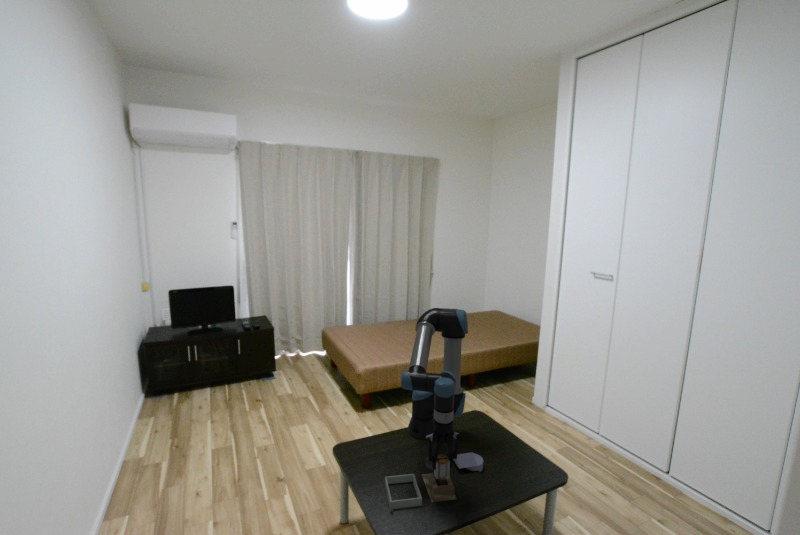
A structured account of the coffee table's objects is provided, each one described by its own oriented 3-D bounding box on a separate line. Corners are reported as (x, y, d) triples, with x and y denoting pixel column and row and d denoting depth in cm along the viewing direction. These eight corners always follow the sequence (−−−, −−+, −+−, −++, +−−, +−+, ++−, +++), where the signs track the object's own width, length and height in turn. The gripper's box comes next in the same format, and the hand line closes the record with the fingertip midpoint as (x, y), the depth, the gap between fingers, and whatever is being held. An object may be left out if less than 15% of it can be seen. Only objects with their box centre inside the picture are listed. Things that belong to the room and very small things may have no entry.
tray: (384, 485, 150) (384, 476, 150) (413, 482, 153) (413, 473, 152) (390, 511, 137) (390, 502, 136) (421, 507, 139) (421, 498, 138)
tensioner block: (420, 475, 157) (421, 454, 156) (443, 472, 159) (444, 452, 158) (431, 504, 141) (432, 482, 140) (456, 501, 142) (457, 479, 141)
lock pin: (434, 485, 147) (435, 454, 145) (444, 484, 148) (445, 453, 146) (437, 493, 143) (438, 461, 141) (447, 491, 144) (448, 460, 142)
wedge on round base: (458, 475, 157) (486, 471, 160) (459, 461, 156) (487, 456, 160) (450, 462, 166) (477, 458, 169) (451, 448, 165) (477, 444, 168)
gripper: (424, 426, 137) (422, 484, 140) (468, 422, 140) (465, 479, 143) (419, 415, 144) (418, 471, 147) (461, 412, 147) (459, 467, 150)
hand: (441, 475), depth 145 cm, fingers closed on lock pin, 4 cm apart
